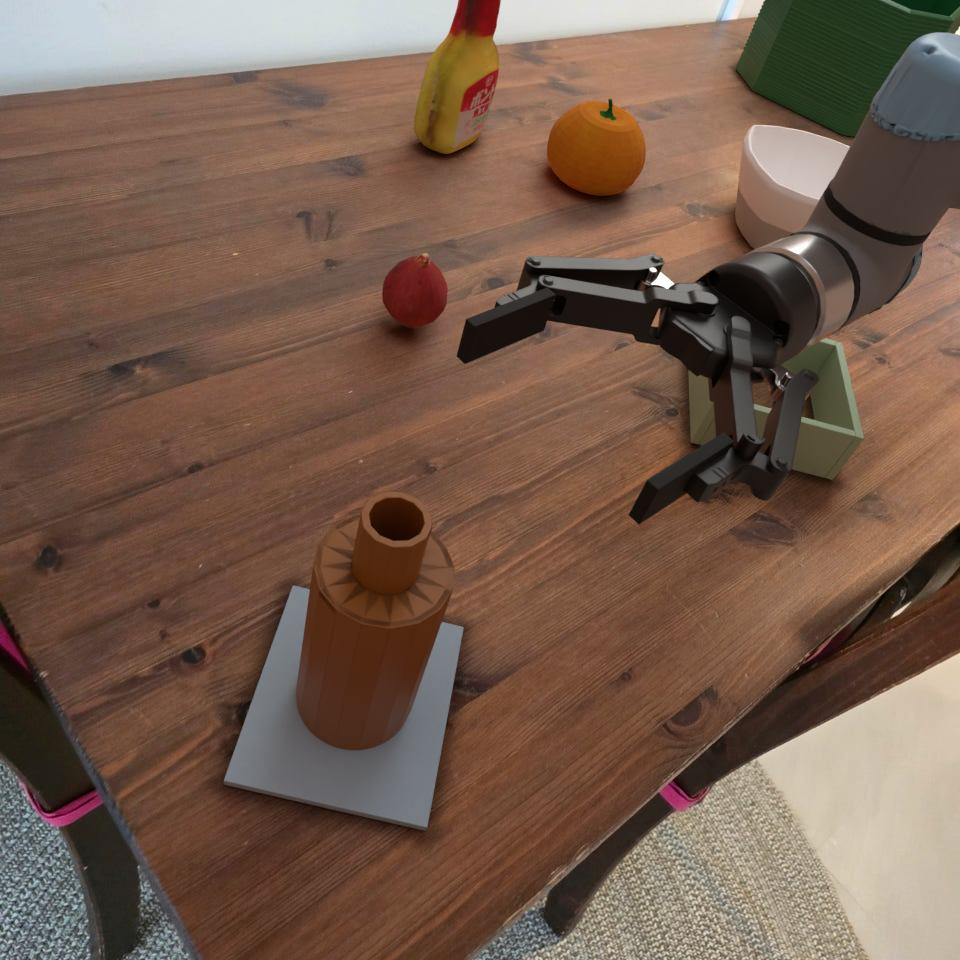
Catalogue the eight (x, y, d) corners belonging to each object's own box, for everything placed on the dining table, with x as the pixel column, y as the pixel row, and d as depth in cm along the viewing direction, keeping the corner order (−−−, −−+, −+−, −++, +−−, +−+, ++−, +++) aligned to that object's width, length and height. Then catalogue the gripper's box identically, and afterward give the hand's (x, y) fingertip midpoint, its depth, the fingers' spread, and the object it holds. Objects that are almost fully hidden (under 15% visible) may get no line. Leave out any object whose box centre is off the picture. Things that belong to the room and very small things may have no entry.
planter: (778, 41, 155) (830, -74, 142) (915, 105, 149) (983, -8, 136) (722, 76, 139) (775, -50, 126) (874, 151, 132) (946, 26, 119)
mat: (425, 831, 52) (427, 827, 51) (223, 784, 51) (223, 780, 50) (462, 631, 61) (464, 626, 61) (292, 589, 60) (292, 584, 60)
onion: (366, 328, 80) (377, 255, 74) (394, 297, 84) (407, 225, 78) (423, 355, 80) (439, 282, 74) (449, 322, 83) (466, 251, 78)
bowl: (725, 262, 102) (761, 189, 95) (703, 182, 114) (734, 112, 107) (866, 292, 104) (912, 223, 97) (830, 211, 116) (868, 144, 109)
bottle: (461, 117, 111) (498, -57, 96) (500, 141, 109) (544, -33, 94) (397, 141, 103) (427, -44, 89) (438, 167, 102) (475, -17, 87)
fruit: (543, 197, 102) (568, 115, 95) (536, 146, 110) (558, 66, 103) (639, 215, 105) (670, 136, 97) (625, 164, 112) (653, 87, 105)
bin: (832, 480, 80) (864, 439, 76) (690, 442, 80) (715, 399, 76) (814, 384, 90) (842, 342, 86) (687, 349, 89) (709, 306, 85)
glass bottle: (434, 708, 56) (499, 537, 43) (341, 773, 52) (383, 606, 39) (365, 627, 59) (408, 443, 46) (273, 683, 55) (291, 499, 42)
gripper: (894, 465, 56) (698, 625, 44) (615, 251, 66) (393, 334, 54) (966, 377, 51) (766, 533, 39) (650, 159, 61) (412, 229, 49)
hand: (548, 418), depth 47 cm, fingers open, 13 cm apart
